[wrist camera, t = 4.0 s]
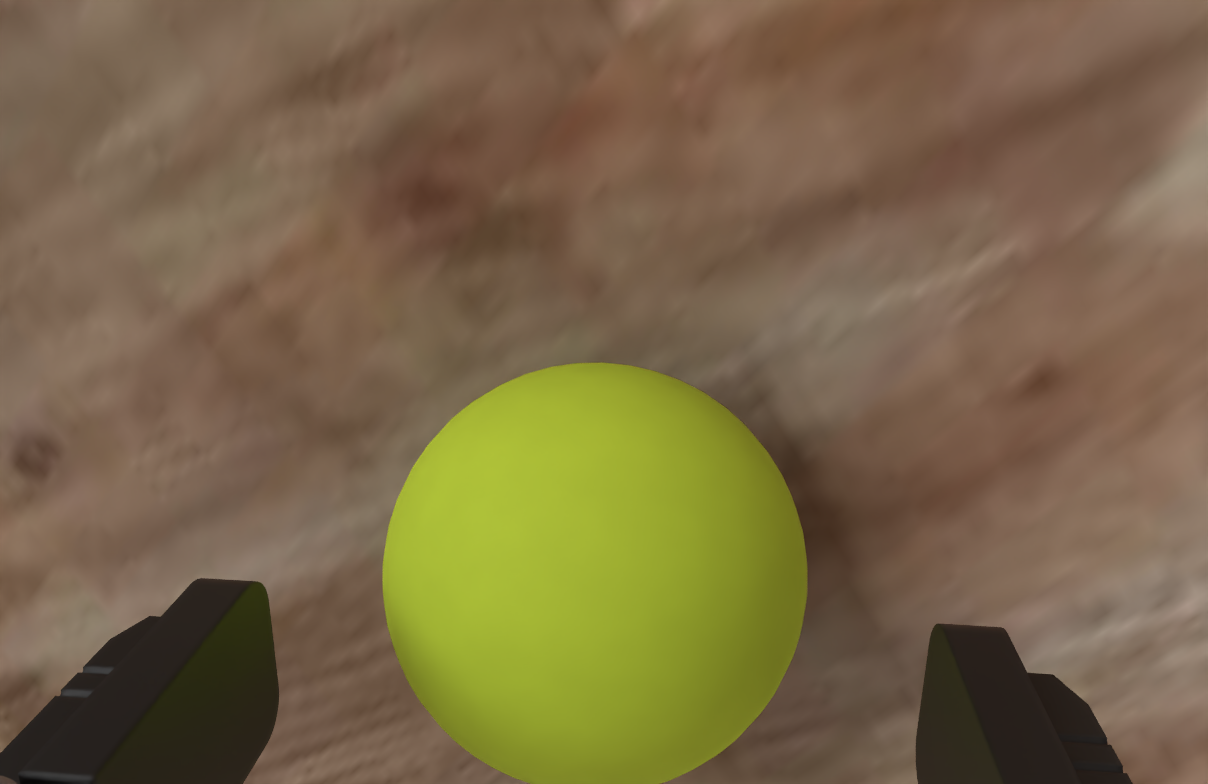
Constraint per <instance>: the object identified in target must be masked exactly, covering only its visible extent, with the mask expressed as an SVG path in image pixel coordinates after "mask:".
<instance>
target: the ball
mask: <svg viewBox="0 0 1208 784" xmlns="http://www.w3.org/2000/svg"><path fill="white" fill-rule="evenodd" d="M383 597H384V606H385V613H386V620H387V626H388V630H389V633H390V636H391V640H392V643H393V647H394V650H395V652H396V655H397V658H398V660H399V663H400V665H401V667H402V669H403V672H404V674H405V676H406V678H407V681H408V682H409V684H410V686H411V687H412V689H413V691H414V692H415V694H416V696H417V697H418V699H419V700H420V702H421V703H422V704H423V706H424V707H425V708H426V709H427V711H428V712H429V713H430V714H431V716H432V717H433V718H434V719H435V721H436V722H437V723H438V724H439V726H440V727H441V728H442V729H443V730H444V731H445V732H446V733H447V734H448V735H449V736H450V737H451V738H452V739H453V740H454V741H455V742H456V743H458V744H459V745H460V746H462V747H463V748H464V749H465V750H467V751H468V752H469V753H471V754H472V755H473V756H474V757H476V758H478V759H479V760H481V761H483V762H484V763H486V764H488V765H489V766H491V767H492V768H494V769H496V770H498V771H501V772H503V773H505V774H507V775H509V776H511V777H513V778H516V779H519V780H522V781H525V782H527V783H530V784H661V783H664V782H667V781H670V780H672V779H674V778H676V777H678V776H681V775H683V774H685V773H687V772H689V771H691V770H693V769H695V768H697V767H698V766H700V765H702V764H703V763H705V762H706V761H708V760H710V759H711V758H713V757H714V756H716V755H718V754H719V753H721V752H722V751H723V750H724V749H725V748H727V747H728V746H729V745H730V744H731V743H733V742H734V741H735V740H736V739H737V738H738V737H739V736H740V735H741V734H742V733H743V732H744V731H745V730H746V729H747V728H748V727H749V726H750V724H751V723H752V722H753V721H754V720H755V719H756V718H757V717H758V716H759V715H760V713H761V712H762V711H763V710H764V708H765V707H766V705H767V704H768V703H769V701H770V700H771V698H772V697H773V695H774V694H775V692H776V690H777V688H778V686H779V684H780V682H781V680H782V679H783V677H784V675H785V673H786V671H787V668H788V666H789V664H790V662H791V660H792V658H793V655H794V652H795V649H796V646H797V643H798V640H799V637H800V633H801V628H802V623H803V618H804V612H805V606H806V600H807V557H806V550H805V543H804V535H803V530H802V527H801V524H800V520H799V517H798V513H797V510H796V507H795V504H794V501H793V498H792V496H791V494H790V491H789V489H788V487H787V485H786V483H785V480H784V478H783V476H782V474H781V472H780V471H779V469H778V467H777V466H776V464H775V463H774V461H773V460H772V458H771V456H770V455H769V453H768V452H767V450H766V449H765V448H764V447H763V446H762V444H761V443H760V442H759V441H758V440H757V438H756V437H755V436H754V435H753V434H752V433H751V431H750V430H749V429H748V428H747V427H746V426H745V424H744V423H742V422H741V421H740V420H739V419H738V418H737V417H736V416H735V415H734V414H732V413H731V412H730V411H729V410H728V409H727V408H726V407H724V406H723V405H721V404H720V403H718V402H717V401H716V400H714V399H713V398H711V397H710V396H708V395H707V394H705V393H704V392H702V391H700V390H698V389H696V388H694V387H692V386H690V385H688V384H686V383H684V382H683V381H681V380H678V379H675V378H672V377H670V376H667V375H664V374H661V373H659V372H656V371H652V370H648V369H643V368H639V367H635V366H630V365H622V364H612V363H574V364H567V365H561V366H554V367H549V368H545V369H542V370H538V371H535V372H531V373H528V374H525V375H522V376H520V377H518V378H515V379H513V380H511V381H508V382H506V383H504V384H502V385H500V386H498V387H496V388H495V389H493V390H491V391H490V392H488V393H486V394H485V395H483V396H481V397H480V398H478V399H477V400H475V401H473V402H472V403H470V404H469V405H468V406H467V407H466V408H464V409H463V410H462V411H461V412H459V413H458V414H457V415H456V416H454V417H453V418H452V419H451V420H450V421H449V422H448V423H447V425H446V426H445V427H444V428H443V429H442V430H441V431H440V432H439V433H438V434H437V435H436V436H435V438H434V439H433V440H432V441H431V442H430V443H429V444H428V446H427V447H426V448H425V450H424V451H423V453H422V454H421V456H420V457H419V459H418V460H417V462H416V463H415V464H414V466H413V468H412V470H411V472H410V474H409V476H408V478H407V480H406V482H405V484H404V486H403V488H402V490H401V493H400V495H399V497H398V499H397V501H396V504H395V507H394V511H393V514H392V517H391V520H390V523H389V528H388V534H387V539H386V546H385V552H384V559H383Z"/></svg>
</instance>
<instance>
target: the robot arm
mask: <svg viewBox="0 0 1208 784" xmlns="http://www.w3.org/2000/svg"><path fill="white" fill-rule="evenodd" d="M278 702H279V687H278V677H277V669H276V660H275V651H274V642H273V634H272V625H271V616H270V607H269V600H268V595H267V591H266V589H265V587H264V586H263V584H262V583H260V582H256V581H239V580H222V579H205V578H200V579H197V580H195V581H194V582H192V583H191V584H190V585H189V587H188V588H187V589H186V590H185V591H184V592H183V593H182V594H181V595H180V596H179V597H178V599H177V600H176V601H175V602H174V603H173V604H172V605H171V606H170V607H169V608H168V610H167V611H166V612H165V613H164V614H163V615H162V616H161V617H156V616H149V617H147V618H146V619H144V620H142V621H140V622H139V623H137V624H135V625H134V626H132V627H130V628H128V629H127V630H125V631H123V632H122V633H120V634H118V635H116V636H115V637H113V638H111V639H110V640H109V641H108V642H107V643H106V644H105V645H104V646H103V647H102V648H101V649H100V650H99V651H98V652H97V653H96V654H95V655H94V656H93V658H92V659H91V660H90V661H89V662H88V663H87V664H86V665H85V666H84V667H83V672H82V673H77V674H76V675H75V676H74V677H73V678H72V679H71V680H70V681H69V682H68V684H67V685H66V686H65V687H64V688H63V689H62V690H61V695H60V696H55V697H54V698H53V699H52V700H51V701H50V702H49V703H48V704H47V705H46V706H45V707H44V708H43V710H42V711H41V712H40V713H39V714H38V715H37V716H36V717H35V718H34V719H33V720H32V721H31V722H30V723H29V724H28V725H27V726H26V727H25V728H24V729H23V730H22V731H21V732H20V733H19V734H18V736H17V737H16V738H15V739H14V740H13V741H12V742H11V743H10V744H9V745H8V746H7V747H6V748H5V749H4V750H3V751H2V752H1V753H0V784H243V783H244V781H245V779H246V778H247V776H248V774H249V773H250V771H251V769H252V768H253V766H254V764H255V763H256V761H257V759H258V758H259V756H260V754H261V753H262V751H263V750H264V748H265V746H266V745H267V743H268V741H269V739H270V736H271V734H272V731H273V728H274V725H275V721H276V717H277V711H278ZM916 770H917V779H918V784H1132V782H1131V780H1130V778H1129V776H1128V775H1127V773H1123V766H1122V764H1121V762H1120V760H1119V759H1118V757H1117V755H1116V753H1115V751H1114V750H1113V748H1112V746H1111V745H1107V737H1106V735H1105V734H1104V732H1103V730H1102V728H1101V727H1100V725H1099V723H1098V721H1097V719H1096V718H1095V716H1094V714H1093V712H1092V710H1091V709H1090V707H1089V705H1088V704H1087V703H1086V702H1085V701H1083V700H1082V699H1081V698H1080V697H1079V696H1078V695H1076V694H1075V693H1074V692H1073V691H1072V690H1070V689H1069V688H1068V687H1067V686H1066V685H1065V684H1063V683H1062V682H1061V681H1060V680H1059V679H1058V678H1056V677H1055V676H1054V675H1051V674H1035V673H1027V672H1026V670H1025V668H1024V666H1023V664H1022V662H1021V660H1020V657H1019V655H1018V653H1017V651H1016V649H1015V647H1014V645H1013V643H1012V641H1011V639H1010V637H1009V635H1008V633H1007V632H1006V630H1005V629H1004V628H1001V627H986V626H970V625H953V624H936V625H935V626H934V628H933V630H932V633H931V637H930V642H929V649H928V656H927V663H926V670H925V677H924V685H923V692H922V699H921V706H920V713H919V721H918V728H917V736H916Z"/></svg>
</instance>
